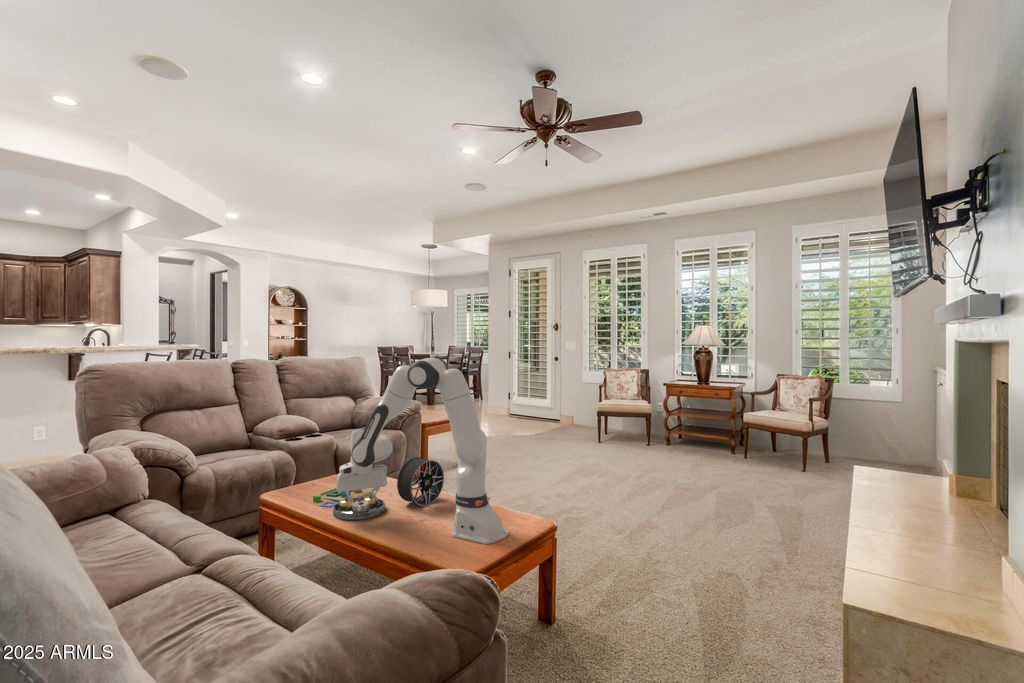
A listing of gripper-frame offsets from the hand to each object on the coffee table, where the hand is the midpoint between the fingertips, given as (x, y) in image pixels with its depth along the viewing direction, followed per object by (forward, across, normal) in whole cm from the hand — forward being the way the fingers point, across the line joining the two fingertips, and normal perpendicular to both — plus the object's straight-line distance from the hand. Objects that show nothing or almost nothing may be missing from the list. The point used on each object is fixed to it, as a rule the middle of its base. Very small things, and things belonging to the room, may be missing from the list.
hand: (362, 499), depth 205 cm
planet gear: (+6, +1, 0) cm, 6 cm away
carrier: (+7, +1, -6) cm, 9 cm away
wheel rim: (+8, -26, -8) cm, 28 cm away
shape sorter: (+7, +5, -30) cm, 31 cm away
